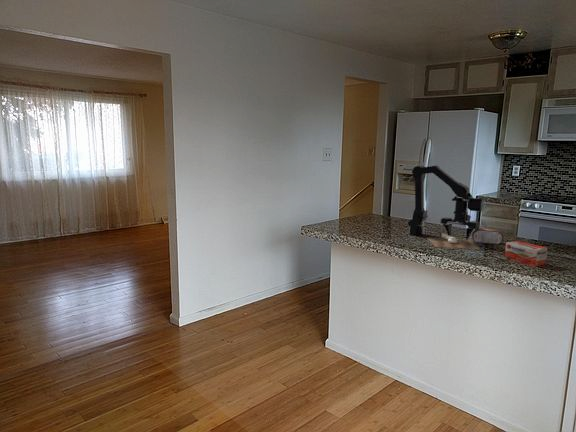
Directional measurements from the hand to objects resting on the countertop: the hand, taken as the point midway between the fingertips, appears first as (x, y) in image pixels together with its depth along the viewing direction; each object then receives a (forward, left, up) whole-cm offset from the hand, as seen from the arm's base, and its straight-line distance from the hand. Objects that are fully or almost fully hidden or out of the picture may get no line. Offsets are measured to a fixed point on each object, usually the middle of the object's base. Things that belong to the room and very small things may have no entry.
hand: (458, 238), depth 220 cm
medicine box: (+21, -30, -3) cm, 37 cm away
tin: (+15, 0, -3) cm, 15 cm away
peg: (-6, -1, -1) cm, 6 cm away
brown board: (-4, -5, -3) cm, 7 cm away
